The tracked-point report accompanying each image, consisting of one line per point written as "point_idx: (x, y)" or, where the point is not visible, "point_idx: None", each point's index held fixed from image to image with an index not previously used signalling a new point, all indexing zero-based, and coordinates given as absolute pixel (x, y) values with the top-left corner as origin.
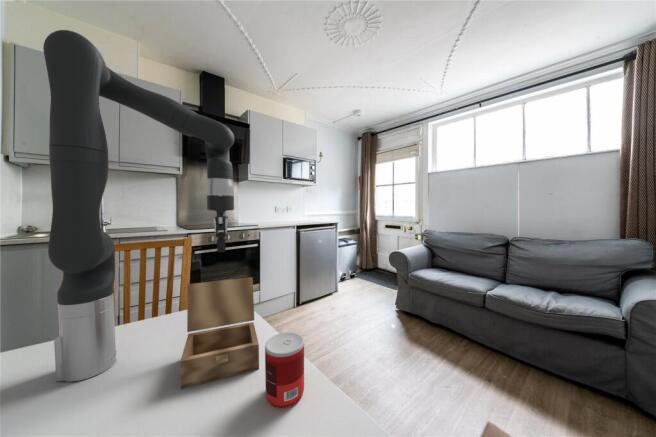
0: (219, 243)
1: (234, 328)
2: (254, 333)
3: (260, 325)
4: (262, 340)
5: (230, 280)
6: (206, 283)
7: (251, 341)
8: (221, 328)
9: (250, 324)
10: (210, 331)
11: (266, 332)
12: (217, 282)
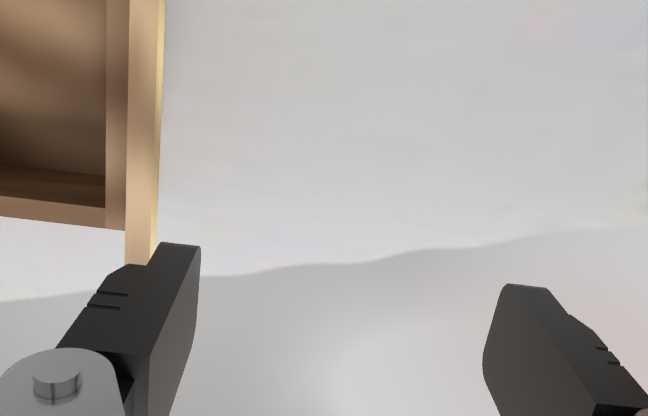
0: (70, 340)
1: (108, 140)
2: (7, 210)
3: (292, 254)
4: (157, 229)
5: (125, 222)
6: (129, 33)
7: (12, 185)
8: (121, 81)
9: (105, 213)
10: (111, 26)
11: (215, 259)
12: (128, 122)
